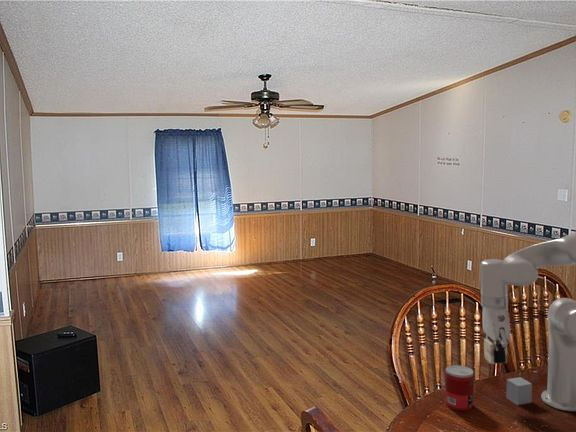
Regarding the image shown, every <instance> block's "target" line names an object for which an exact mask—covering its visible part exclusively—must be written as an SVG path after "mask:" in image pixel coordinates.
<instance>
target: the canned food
mask: <svg viewBox="0 0 576 432" xmlns="http://www.w3.org/2000/svg"><path fill="white" fill-rule="evenodd" d="M444 374H445V381H444V382H445V384H444V385H445V388H444V389H445V391H444V392H445V395H444V397H445V405H446V406H447V407H448V408H449V409H452V410H455V411H462V412H463V411H464V412H466V411H469V410H471V409H472V408H473V406H474V381H475V380H474V377H475V376H474V375H475V374H474V370H473V369H472V368H471V367H468V366H465V365H460V364H459V365H457V364H456V365H455V364H454V365H453V364H452V365H449V366H446V367H445V373H444Z"/></svg>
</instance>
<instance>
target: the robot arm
mask: <svg viewBox="0 0 576 432" xmlns="http://www.w3.org/2000/svg"><path fill="white" fill-rule="evenodd" d="M549 266H550V267H551V266H568V267H569V266H576V231H575V232H571V233H569V234H567V235H565V236H562V237H560V238H555V239H552V240H549V241H544V242H540V243H535V244H532V245H530V246H527V247H524V248H521V249H519V250H517V251H515V252H512V253H510V254H509V255H508V256H506V257H505V258H504V259H499V258H489V259H488V258H487V259H483V260H481V262H480V263H479V273H480V274H479V276H480V277H479V278H480V280H479V281H480V306H481V307H482V315H481V316H482V317H481V318H482V319H481V320H482V321H481V322H482V323H481V324H482V332H483V333H484V335H485V339H490V338H491V339H493V340H494V345H495V350H494V362H495V363H498V364H506V363H505V350H506V346H507V347H508V344H509V343H508V341H510V340H511V324H510V316H509V311H508V307H509V298H508V296H509V295H508V293H509V292H508V285H511V286H517V287H527V286H531V285H532V284H534V283H536V282H537V280H538V278H539V271H538V269H540V268H546V267H549ZM547 327H548V362H547V363H548V365H547V387H546V388H547V389H546V390H543V391H542V393H541V396H540V397H541V400H542V402H544V403H545V404H546V405H548V406H550V407H552V408H555V409H557V410H562V411H567V412H576V300H574V299H572V298H570V297H569V298H568V297H560V298H557V299H555V300H554V301H552V303H551V304H550V305H549V307H548V310H547ZM497 338H500V340H498V339H497ZM497 342H501V343H500V344H499V345H498V343H497Z"/></svg>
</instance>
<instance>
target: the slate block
mask: <svg viewBox="0 0 576 432" xmlns="http://www.w3.org/2000/svg"><path fill="white" fill-rule="evenodd" d="M505 390H506V395H505V397H506V399H507V400H509V401H511V403H513V404H515V405H517V406H521V405H526V404H532V395H533V391H532V390H533V383H531V382H529V380H526V379H525V378H523V377H520V376H519V377H513V378H507V379H506V389H505Z"/></svg>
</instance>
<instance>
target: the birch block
mask: <svg viewBox="0 0 576 432" xmlns="http://www.w3.org/2000/svg"><path fill="white" fill-rule="evenodd" d="M497 339H498V340H500V338H497ZM497 343H498V345H499V344H500V343H501V342H497ZM483 349H484V350H483V354H484V355H483V357H484V359H485V360H486V361H487V362H488V363H489V364H490V365H497V364H499V363H495V362H494V350H495V345H494V340H493V339H491V338H490V339H486V338H484V339H483ZM504 364H508V345H507V346H506V350H505V363H504Z"/></svg>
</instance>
